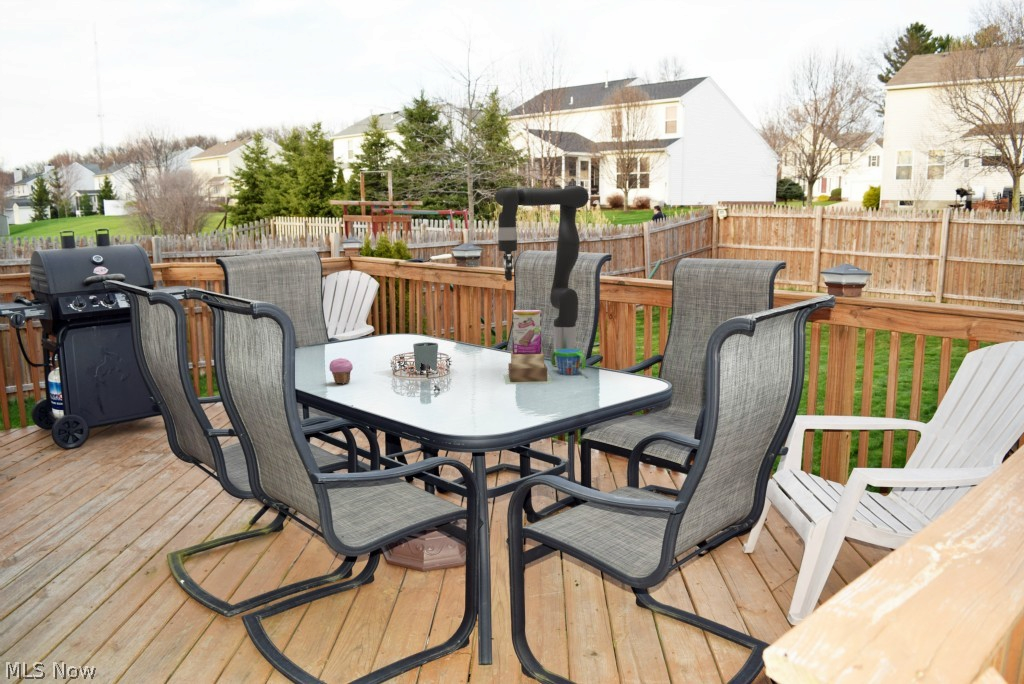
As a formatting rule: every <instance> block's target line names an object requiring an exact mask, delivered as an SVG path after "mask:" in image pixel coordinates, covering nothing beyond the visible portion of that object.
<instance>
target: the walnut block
mask: <svg viewBox="0 0 1024 684" xmlns="http://www.w3.org/2000/svg"><path fill="white" fill-rule="evenodd" d="M546 365H547V364H545V362H544V368H519V369H513V368H512V365H511V362H508V374H509V379H510V382H536V381H547V373H548V367H547V366H546Z"/></svg>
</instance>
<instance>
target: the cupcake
mask: <svg viewBox="0 0 1024 684" xmlns="http://www.w3.org/2000/svg"><path fill="white" fill-rule="evenodd" d="M353 366H354V365H353V364H352V362H351V361H350V360H349V359H347V358H342V357H339V358H335V359H333V360H331V361H330V363H329V371H330V372H331V375H332V377H333V380H334V383H335V384H336V383H346V384H348V383H349V382H350V380H351V371H353ZM347 382H348V383H347Z"/></svg>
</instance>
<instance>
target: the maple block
mask: <svg viewBox="0 0 1024 684" xmlns="http://www.w3.org/2000/svg"><path fill="white" fill-rule="evenodd" d="M510 363H511V365H512V368H513V369H519V368H544V363H545V353H544V352H543V350H542V351H541V354H513V350H510Z"/></svg>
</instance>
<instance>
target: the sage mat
mask: <svg viewBox="0 0 1024 684" xmlns="http://www.w3.org/2000/svg"><path fill="white" fill-rule="evenodd" d="M502 375H503V379H504V383H505V385H521V384H522V385H524V384H525V385H526V384H527V385H528V384H554V381H553V379H552V377H551V375H550V373H549V372H547V381H536V382H510V379H509V373H508V374H507V373H504V374H502Z"/></svg>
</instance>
